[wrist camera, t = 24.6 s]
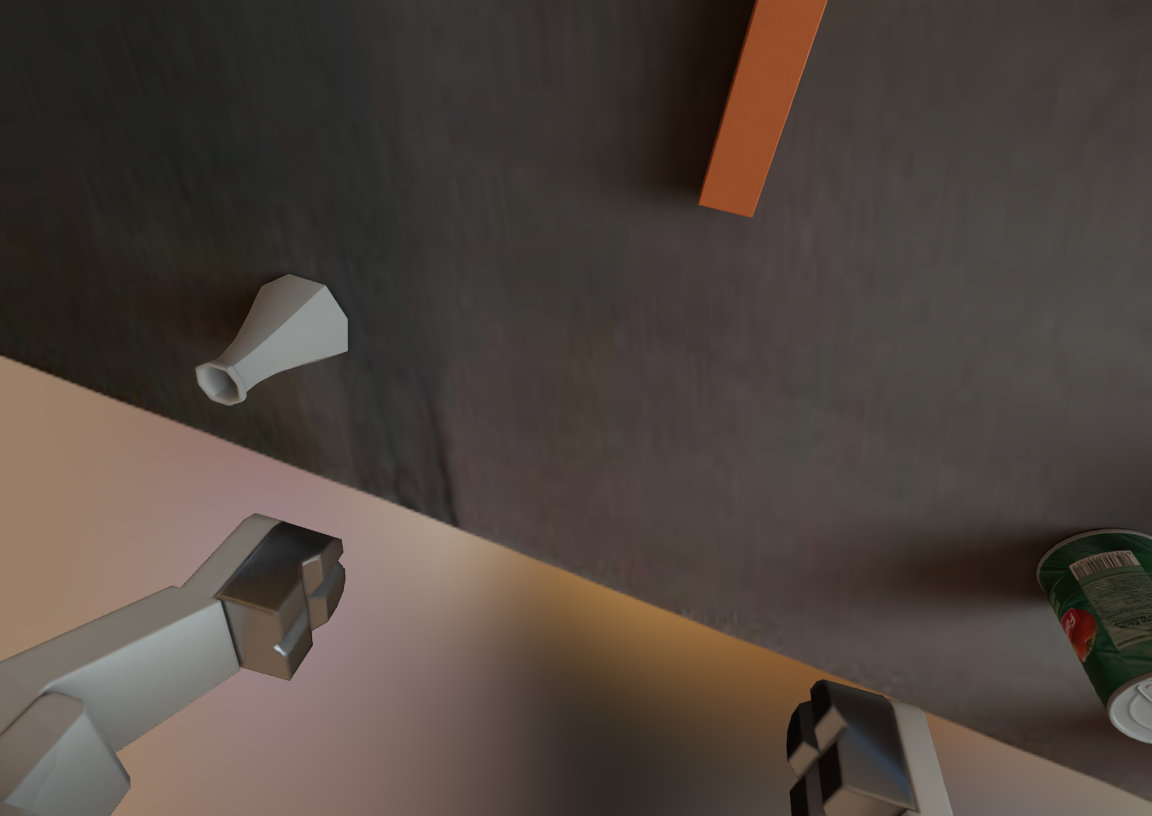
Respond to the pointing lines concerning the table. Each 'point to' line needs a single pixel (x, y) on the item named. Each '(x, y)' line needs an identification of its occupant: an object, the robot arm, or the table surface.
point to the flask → (277, 338)
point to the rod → (759, 102)
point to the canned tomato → (1108, 617)
